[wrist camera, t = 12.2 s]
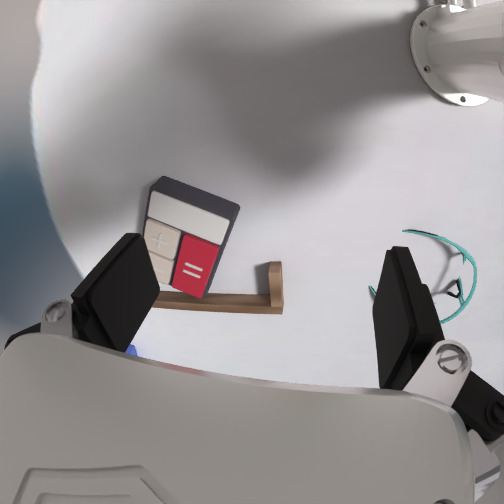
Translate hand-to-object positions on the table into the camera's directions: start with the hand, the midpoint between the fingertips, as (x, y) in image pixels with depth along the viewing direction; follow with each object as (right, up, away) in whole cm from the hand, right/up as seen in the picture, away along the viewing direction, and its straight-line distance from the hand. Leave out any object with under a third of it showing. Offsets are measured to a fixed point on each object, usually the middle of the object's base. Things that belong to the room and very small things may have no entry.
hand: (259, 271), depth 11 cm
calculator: (-9, +3, +30) cm, 31 cm away
